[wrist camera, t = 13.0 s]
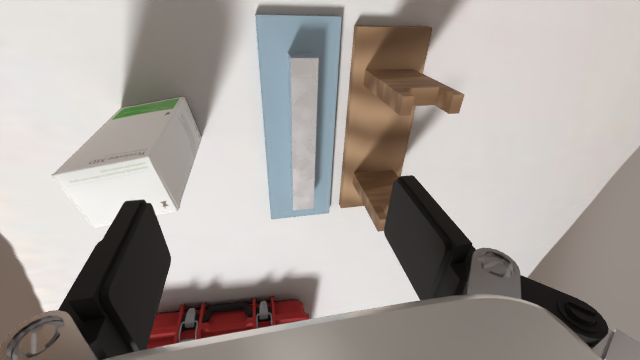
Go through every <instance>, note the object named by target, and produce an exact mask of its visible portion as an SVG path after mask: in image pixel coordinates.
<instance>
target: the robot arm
mask: <svg viewBox="0 0 640 360" xmlns="http://www.w3.org/2000/svg"><path fill="white" fill-rule="evenodd" d="M384 233H385V236H386V238H387V240H388V242H389V244H390V246H391V247H392V249H393V251H394V253H395V255H396V257H397V258H398V260H399V262H400V264H401V266H402V268H403V269H404V271H405V273H406V275H407V277H408V279H409V280H410V282H411V284H412V286H413V288H414V290H415V291H416V293H417V295H418V297H419V299H420V300H421V301H414V302H408V303H402V304H396V305H390V306H384V307H378V308H372V309H367V310H361V311H355V312H349V313H343V314H337V315H332V316H326V317H320V318H314V319H309V320H303V321H297V322H292V323H286V324H280V325H275V326H269V327H263V328H258V329H252V330H247V331H241V332H236V333H230V334H225V335H219V336H213V337H208V338H202V339H197V340H191V341H186V342H181V343H176V344H171V345H166V346H161V347H156V348H150V349H147V346H148V342H149V338H150V335H151V331H152V328H153V324H154V321H155V317H156V313H157V310H158V306H159V303H160V299H161V296H162V292H163V288H164V285H165V281H166V278H167V274H168V271H169V267H170V263H171V257H170V253H169V250H168V247H167V244H166V242H165V239H164V236H163V233H162V231H161V228H160V225H159V222H158V220H157V217H156V214H155V211H154V209H153V206H152V204H151V203H146V201H145V200H143V199H142V200H131V201H125V202H124V203H123V205H122V207H121V208H120V210H119V212H118V214H117V215H116V217H115V219H114V220H113V222H112V224H111V226H110V227H109V229H108V231H107V233H106V234H105V236H104V238H103V240H102V241H100V242H98V244H97V245H96V246H95V248H94V250H93V251H92V253H91V255H90V257H89V258H88V260H87V262H86V263H85V265H84V267H83V269H82V270H81V272H80V274H79V275H78V277H77V279H76V281H75V282H74V284H73V286H72V287H71V289H70V291H69V292H68V294H67V296H66V298H65V299H64V301H63V303H62V304H61V306H60V308H59V310H56V311H48V312H45V313H41V314H39V315H37V316H35V317H32V318H30V319H28V320H27V321H26V322H24V323H22V324H21V325H19V326H18V327H17V328H16V329H14V330H13V331H12V332H11V333H10V334H9V335H8V336H7V337H6V339H5V340H4V341H3V343H2V344H1V346H0V360H640V342H638V341H637V340H635V339H633V338H632V337H630V336H628V335H627V334H625V333H623V332H622V331H620V330H618V329H616V330H614V331H612V330H610V329H609V328H608V326H607V323H606V321H605V320H604V319H603V317H602V316H601V315H600V314H599V313H598V312H597V311H596V310H595V309H594V308H592V307H591V306H589V305H588V304H587V303H585V302H583V301H581V300H579V299H577V298H575V297H572V296H570V295H568V294H565V293H562V292H560V291H558V290H555V289H553V288H551V287H548V286H546V285H543V284H541V283H538V282H536V281H534V280H531V279H529V278H526V277H524V276H521V275H520V270H519V267H518V266H517V264H516V263H515V261H513V260H512V259H511V258H510V257H509V256H507V255H506V254H504V253H502V252H500V251H498V250H495V249H491V248H480V249H477V250H476V249H475V248H474V247H473V246H472V243H471V241H470V240H469V239H468V238H467V237H466V236H465V235H464V233H463V232H462V231H461V230H460V229H459V228H458V226H457V225H456V224H455V223H454V222H453V221H452V220H451V218H450V217H449V216H448V215H447V214H446V213H445V212H444V210H443V209H442V208H441V207H440V206H439V205H438V203H437V202H436V201H435V200H434V199H433V198H432V197H431V195H430V194H429V193H428V192H427V191H426V190H425V188H424V187H423V186H422V185H421V184H420V183H419V182H418V180H417V179H416V178H415V177H414V176H412V175H411V176H400V177H398V179H397V180H395V181H394V183H393V187H392V192H391V197H390V202H389V207H388V211H387V216H386V221H385V226H384Z"/></svg>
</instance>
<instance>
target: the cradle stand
mask: <svg viewBox="0 0 640 360" xmlns="http://www.w3.org/2000/svg"><path fill="white" fill-rule="evenodd" d="M431 32H432V28H431V27H412V26H354V37H353V48H352V60H351V72H350V83H349V95H348V107H347V118H346V130H345V142H344V153H343V165H342V177H341V188H340V200H339V205H340V207H341V208H347V207H356V206H365V208H366V210H367V212H368V214H369V216H370V217H371V219H372V221H373V223H374V225H375V227H376V229H377V231H384V226H385V221H386V216H387V211H388V207H389V202H390V197H391V192H392V187H393V183H394V181H395V180H397V179H398V177H400V175H401V171H402V166H403V161H404V157H405V152H406V148H407V143H408V138H409V134H410V129H411V124H412V120H413V115H414V110H415V106H422V105H436V106H437V107H439V108H440V109H442V110H444V111H445V112H447V113H448V114H453V113H459V111H460V107H461V104H462V101H463V98H464V94H462V93H460V92H458V91H456V90H454V89H452V88H450V87H448V86H446V85H444V84H442V83H440V82H438V81H436V80H434V79H432V78H430V77H428V76H426V75H424V74H422V73H423V69H424V64H425V59H426V55H427V50H428V45H429V41H430V36H431Z"/></svg>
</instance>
